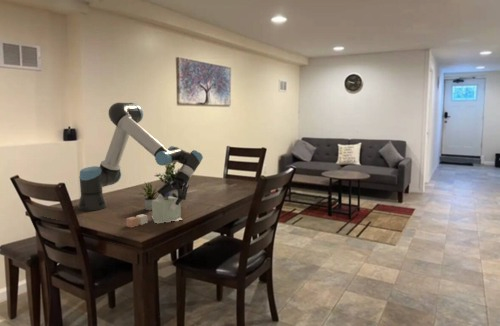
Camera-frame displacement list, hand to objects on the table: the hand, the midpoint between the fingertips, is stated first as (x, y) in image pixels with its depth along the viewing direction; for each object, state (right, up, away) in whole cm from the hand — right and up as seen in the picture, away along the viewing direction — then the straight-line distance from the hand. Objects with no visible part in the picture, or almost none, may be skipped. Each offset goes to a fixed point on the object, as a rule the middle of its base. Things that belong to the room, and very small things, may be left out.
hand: (163, 207), depth 189 cm
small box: (-3, -2, +32) cm, 32 cm away
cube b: (-13, -8, -9) cm, 18 cm away
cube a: (-10, -8, -5) cm, 13 cm away
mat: (+1, -6, +3) cm, 7 cm away
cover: (+1, -6, +3) cm, 7 cm away
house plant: (-14, -4, +22) cm, 26 cm away
